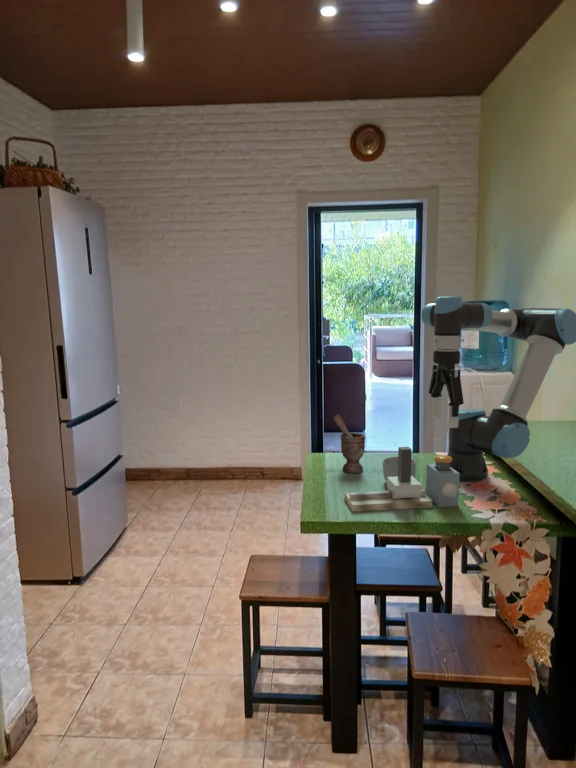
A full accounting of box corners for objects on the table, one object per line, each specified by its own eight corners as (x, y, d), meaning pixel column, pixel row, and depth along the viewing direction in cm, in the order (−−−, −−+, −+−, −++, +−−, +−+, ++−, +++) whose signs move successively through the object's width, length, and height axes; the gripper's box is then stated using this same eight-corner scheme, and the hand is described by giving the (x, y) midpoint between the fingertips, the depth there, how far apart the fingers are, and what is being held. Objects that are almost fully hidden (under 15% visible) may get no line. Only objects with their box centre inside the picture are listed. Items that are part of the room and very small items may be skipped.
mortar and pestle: (330, 472, 188) (331, 417, 185) (333, 465, 196) (333, 412, 193) (363, 474, 186) (364, 419, 183) (364, 467, 194) (365, 413, 191)
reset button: (446, 476, 163) (447, 454, 162) (454, 482, 158) (455, 459, 157) (430, 477, 163) (431, 455, 162) (437, 482, 158) (438, 460, 157)
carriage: (411, 489, 164) (413, 444, 162) (421, 498, 156) (423, 451, 154) (386, 490, 163) (387, 445, 161) (395, 500, 155) (396, 452, 153)
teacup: (411, 490, 170) (412, 466, 168) (378, 486, 174) (378, 462, 173) (419, 478, 182) (420, 455, 181) (388, 473, 187) (389, 451, 185)
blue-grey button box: (444, 493, 167) (445, 463, 165) (458, 506, 156) (460, 473, 155) (425, 494, 166) (426, 464, 164) (439, 507, 156) (440, 474, 154)
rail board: (419, 495, 166) (419, 484, 165) (432, 507, 156) (432, 495, 155) (344, 499, 163) (344, 488, 162) (352, 511, 153) (352, 500, 152)
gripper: (419, 346, 166) (417, 414, 169) (452, 354, 142) (449, 432, 146) (442, 346, 167) (439, 413, 170) (478, 353, 143) (475, 431, 147)
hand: (444, 422), depth 158 cm, fingers open, 12 cm apart
